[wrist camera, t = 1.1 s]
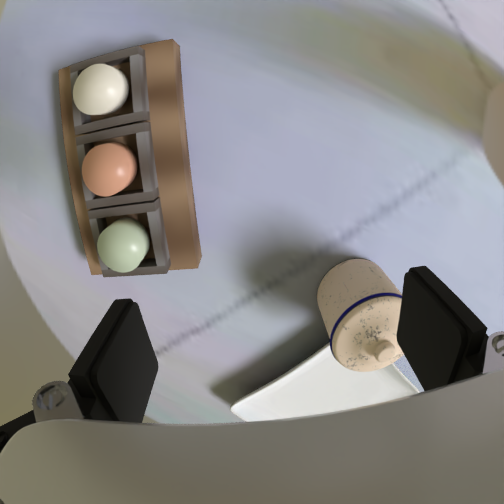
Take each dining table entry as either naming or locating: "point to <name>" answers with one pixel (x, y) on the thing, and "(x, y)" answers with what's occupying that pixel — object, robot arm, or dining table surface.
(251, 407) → the salad plate
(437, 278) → the robot arm
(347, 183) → the dining table surface
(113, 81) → the cream button
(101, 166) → the terracotta button
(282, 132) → the dining table surface
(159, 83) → the button console
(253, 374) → the dining table surface
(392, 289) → the teacup with lid
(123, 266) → the sage button
